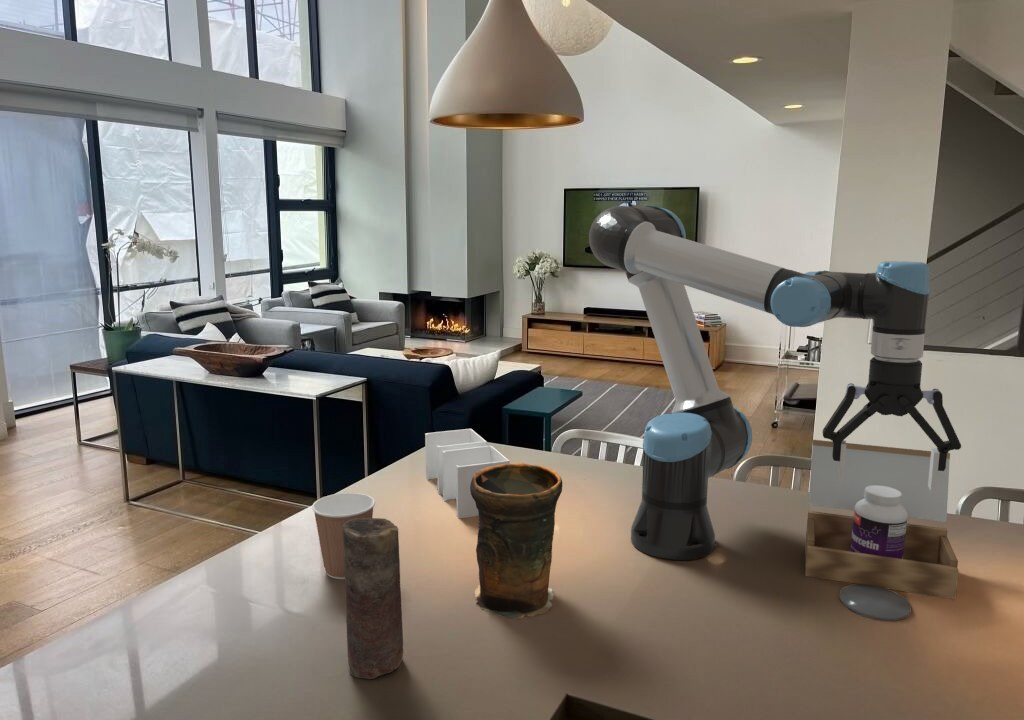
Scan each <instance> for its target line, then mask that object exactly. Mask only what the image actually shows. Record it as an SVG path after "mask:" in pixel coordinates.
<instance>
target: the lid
mask: <svg viewBox="0 0 1024 720" xmlns="http://www.w3.org/2000/svg"><path fill="white" fill-rule="evenodd" d="M832 454H833V441H832V440H830V441H829V440H820V439H812V450H811V461H810V463H811V466H810V476H809V479H810V480H809V493H808V505H810V506H815V507H824V508H833V509H840V510H848V511H854V509H855V505H856V503H857V502H858V501H860V500H862V499H865V497H864V493H865V488H866V487H867V486H874V485H875V486H886V487H890V488H893V489H896V490H898V491H900V492H901V494H902V496H901V502H900V505H902V506H903V507H904V508H905V509H906V511H907V514H908V518H911V519H919V520H928V521H934V522H942V523H947V521H948V520H947V518H948V501H949V482H950V481H949V480H950V479H949V478H950V477H949V476H950V462H951V461H950V459H951V453H950V452H948V453H947V458H946V468H945V470H944V471H938V474H937V484H936V492H932V491H930V489H929V487H928V480H929V469H930V459H931V450H924V449H922V450H921V449H913V448H912V449H911V448H901V447H891V446H883V445H882V446H880V445H871V444H863V443H862V444H861V443H853V442H852V443H851V442H846V457H845V470H844V482H839V480H838V470H839V461H834V460H833V456H832Z"/></svg>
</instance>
